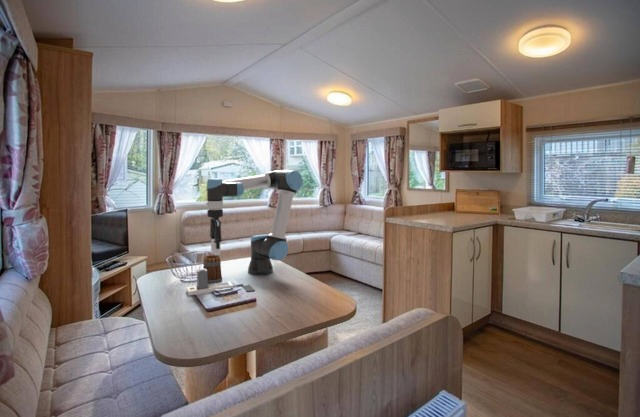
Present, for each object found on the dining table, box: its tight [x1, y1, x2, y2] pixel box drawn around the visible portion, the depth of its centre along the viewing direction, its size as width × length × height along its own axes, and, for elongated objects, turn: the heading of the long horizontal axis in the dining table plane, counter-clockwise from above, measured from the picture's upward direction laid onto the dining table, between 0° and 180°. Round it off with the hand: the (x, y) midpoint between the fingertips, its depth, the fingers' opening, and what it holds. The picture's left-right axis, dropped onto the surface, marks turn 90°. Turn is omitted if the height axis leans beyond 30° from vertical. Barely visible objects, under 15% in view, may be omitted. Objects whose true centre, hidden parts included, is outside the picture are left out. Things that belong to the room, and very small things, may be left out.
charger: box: [196, 267, 208, 290], centre depth 179 cm, size 4×4×12 cm
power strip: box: [186, 280, 244, 296], centre depth 183 cm, size 28×7×4 cm, turn 118°
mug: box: [202, 253, 223, 284], centre depth 197 cm, size 16×11×15 cm
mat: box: [241, 284, 256, 293], centre depth 186 cm, size 9×9×1 cm
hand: (215, 252), depth 181 cm, fingers open, 8 cm apart
